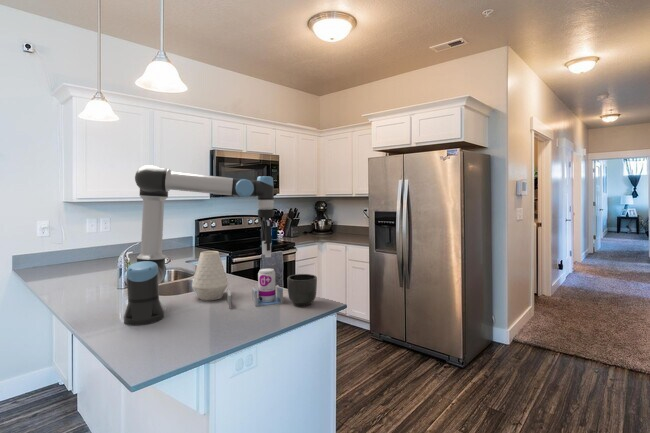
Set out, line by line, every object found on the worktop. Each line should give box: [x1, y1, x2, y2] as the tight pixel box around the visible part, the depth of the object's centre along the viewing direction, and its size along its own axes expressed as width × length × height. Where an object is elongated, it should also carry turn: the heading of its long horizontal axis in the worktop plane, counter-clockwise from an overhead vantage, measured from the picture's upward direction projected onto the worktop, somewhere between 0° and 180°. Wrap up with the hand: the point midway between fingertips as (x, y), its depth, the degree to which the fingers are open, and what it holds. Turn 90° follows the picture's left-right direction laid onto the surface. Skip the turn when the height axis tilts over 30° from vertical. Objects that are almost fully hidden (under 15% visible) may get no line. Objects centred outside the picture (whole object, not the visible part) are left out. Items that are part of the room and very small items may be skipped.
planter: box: [286, 273, 318, 307], centre depth 175 cm, size 14×14×13 cm
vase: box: [191, 250, 229, 302], centre depth 187 cm, size 17×17×23 cm
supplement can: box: [257, 268, 277, 302], centre depth 180 cm, size 8×8×15 cm
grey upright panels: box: [226, 284, 284, 310], centre depth 178 cm, size 25×12×7 cm, turn 108°
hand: (266, 255), depth 179 cm, fingers open, 9 cm apart
